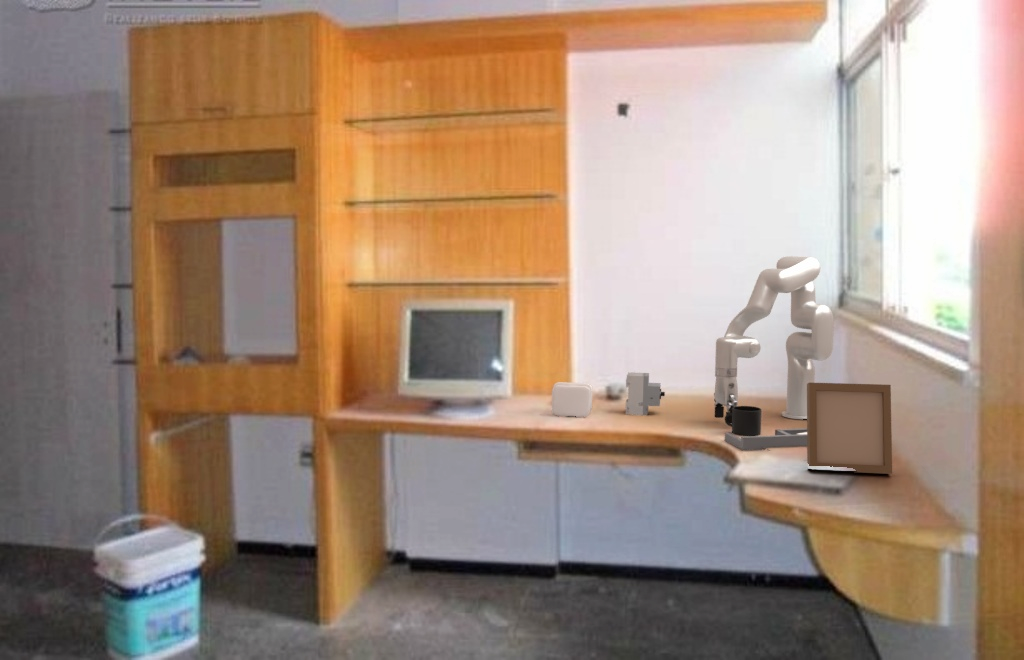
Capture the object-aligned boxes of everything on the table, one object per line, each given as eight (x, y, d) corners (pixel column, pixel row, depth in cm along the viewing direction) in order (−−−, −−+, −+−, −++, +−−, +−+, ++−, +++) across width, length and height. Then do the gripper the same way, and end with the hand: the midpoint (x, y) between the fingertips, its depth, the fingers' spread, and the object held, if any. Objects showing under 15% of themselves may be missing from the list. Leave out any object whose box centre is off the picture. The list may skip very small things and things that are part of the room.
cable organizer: (549, 416, 317) (549, 385, 315) (553, 411, 327) (553, 381, 326) (589, 418, 314) (589, 387, 312) (592, 412, 324) (593, 382, 323)
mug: (727, 429, 294) (728, 404, 293) (762, 433, 289) (763, 407, 288) (721, 435, 286) (722, 409, 285) (757, 439, 281) (758, 412, 280)
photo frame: (892, 477, 235) (895, 387, 233) (809, 473, 239) (812, 385, 237) (879, 464, 249) (882, 380, 247) (801, 461, 253) (804, 377, 251)
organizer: (812, 436, 284) (813, 425, 283) (834, 446, 271) (835, 434, 270) (724, 440, 278) (725, 428, 278) (742, 450, 265) (743, 437, 265)
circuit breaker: (663, 416, 317) (664, 376, 315) (625, 414, 320) (626, 375, 318) (664, 412, 324) (665, 373, 323) (626, 410, 327) (627, 372, 326)
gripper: (746, 376, 292) (745, 425, 293) (725, 368, 309) (724, 415, 310) (726, 376, 290) (724, 425, 292) (706, 369, 307) (705, 415, 309)
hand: (724, 420), depth 301 cm, fingers open, 9 cm apart
